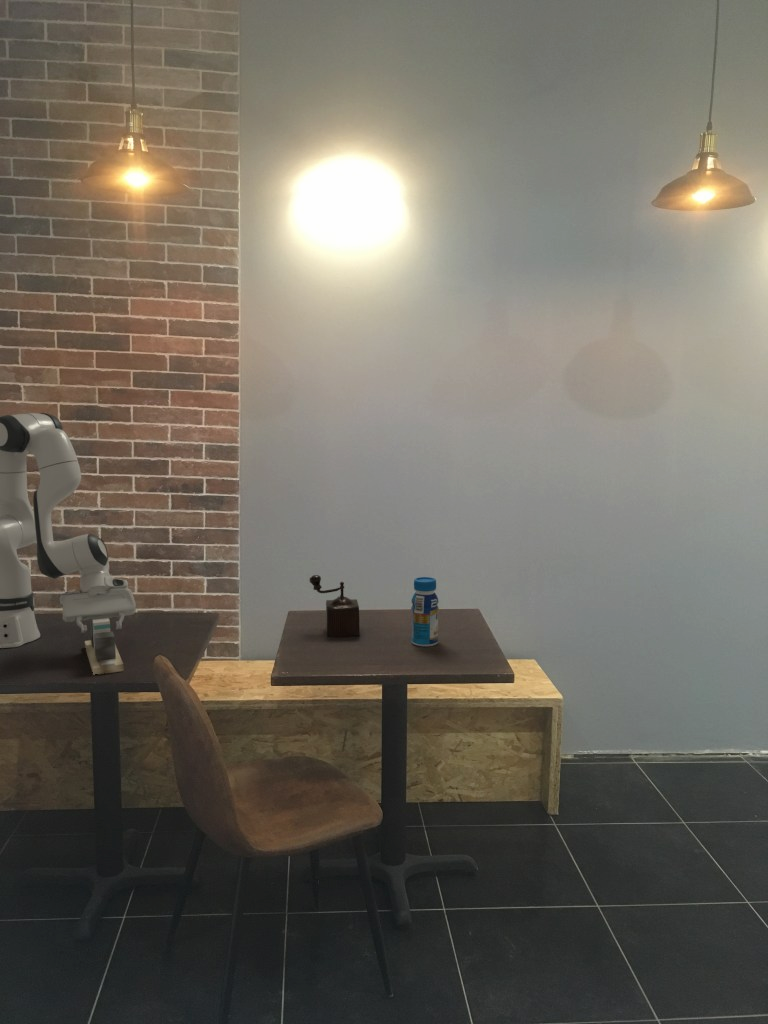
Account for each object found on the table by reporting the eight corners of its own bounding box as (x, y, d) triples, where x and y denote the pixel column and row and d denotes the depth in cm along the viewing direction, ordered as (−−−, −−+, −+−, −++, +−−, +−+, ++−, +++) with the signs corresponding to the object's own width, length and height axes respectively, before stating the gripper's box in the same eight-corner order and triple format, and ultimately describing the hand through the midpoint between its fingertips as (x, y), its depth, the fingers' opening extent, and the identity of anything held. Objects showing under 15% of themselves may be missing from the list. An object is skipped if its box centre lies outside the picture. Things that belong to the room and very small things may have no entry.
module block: (95, 653, 235) (93, 623, 234) (94, 649, 239) (92, 619, 237) (111, 651, 237) (109, 621, 236) (110, 647, 241) (108, 617, 239)
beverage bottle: (406, 640, 255) (407, 577, 251) (432, 637, 257) (432, 575, 254) (416, 648, 247) (417, 583, 244) (442, 645, 249) (443, 581, 246)
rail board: (93, 675, 225) (91, 643, 224) (85, 647, 248) (83, 618, 247) (123, 670, 228) (121, 639, 227) (112, 643, 252) (111, 615, 250)
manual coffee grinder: (357, 626, 270) (357, 572, 267) (360, 636, 259) (359, 580, 256) (310, 627, 268) (309, 573, 265) (310, 638, 257) (309, 582, 254)
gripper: (59, 587, 237) (63, 629, 230) (132, 580, 245) (138, 620, 238) (59, 598, 242) (63, 640, 235) (131, 591, 250) (137, 630, 243)
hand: (102, 630), depth 236 cm, fingers open, 8 cm apart
